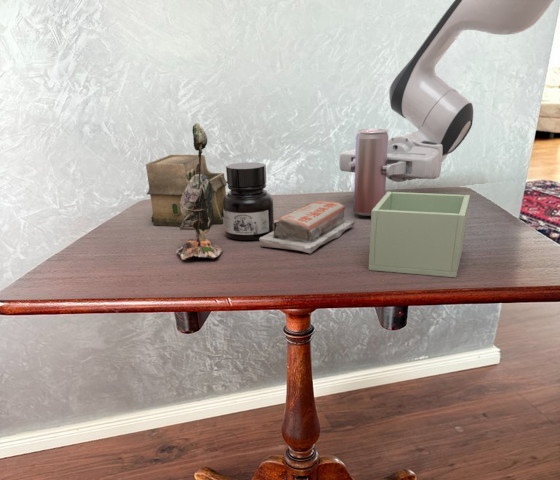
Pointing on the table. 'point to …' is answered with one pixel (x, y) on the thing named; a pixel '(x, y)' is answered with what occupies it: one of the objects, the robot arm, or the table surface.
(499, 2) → the robot arm
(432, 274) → the waste bin
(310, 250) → the packaged product
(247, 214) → the ink bottle
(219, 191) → the miniature house
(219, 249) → the plant with pod
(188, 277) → the table surface
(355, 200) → the beverage can
